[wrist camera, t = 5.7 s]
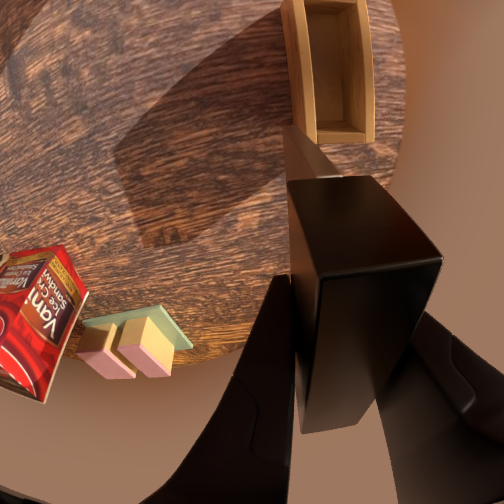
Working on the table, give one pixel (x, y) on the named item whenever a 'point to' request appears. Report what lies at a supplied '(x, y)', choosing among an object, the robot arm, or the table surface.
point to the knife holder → (330, 69)
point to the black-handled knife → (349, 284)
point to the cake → (105, 352)
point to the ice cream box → (36, 317)
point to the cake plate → (155, 315)
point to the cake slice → (146, 347)
